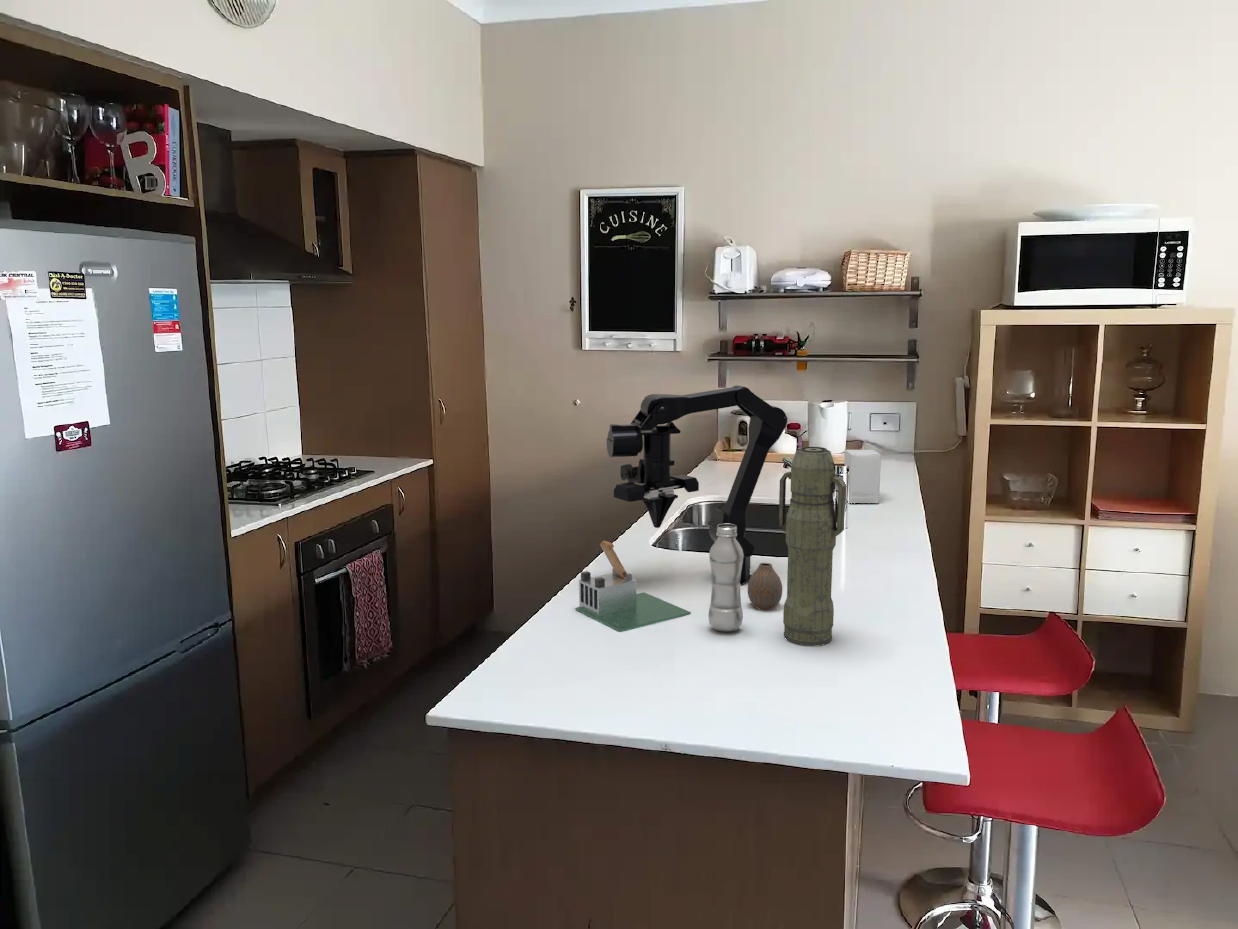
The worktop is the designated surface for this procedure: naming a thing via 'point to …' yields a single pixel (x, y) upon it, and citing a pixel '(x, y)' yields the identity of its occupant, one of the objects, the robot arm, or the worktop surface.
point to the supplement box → (863, 475)
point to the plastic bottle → (726, 580)
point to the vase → (765, 587)
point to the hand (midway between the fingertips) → (656, 527)
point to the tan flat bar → (613, 558)
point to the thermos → (810, 544)
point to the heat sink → (622, 602)
